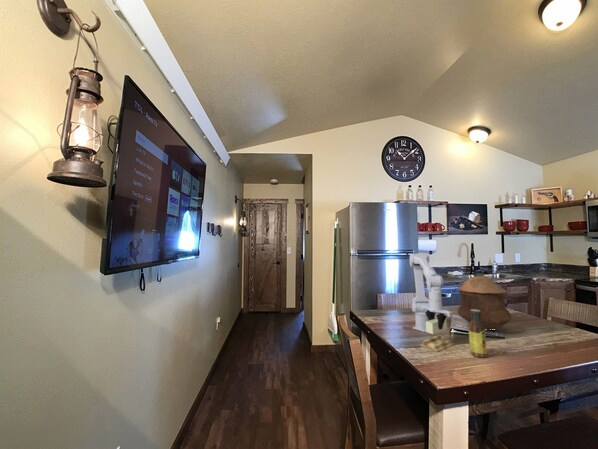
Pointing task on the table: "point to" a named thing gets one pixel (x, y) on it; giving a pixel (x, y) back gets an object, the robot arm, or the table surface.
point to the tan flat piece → (437, 343)
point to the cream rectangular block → (435, 326)
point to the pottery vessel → (484, 302)
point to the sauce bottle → (477, 335)
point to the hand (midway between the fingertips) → (436, 327)
